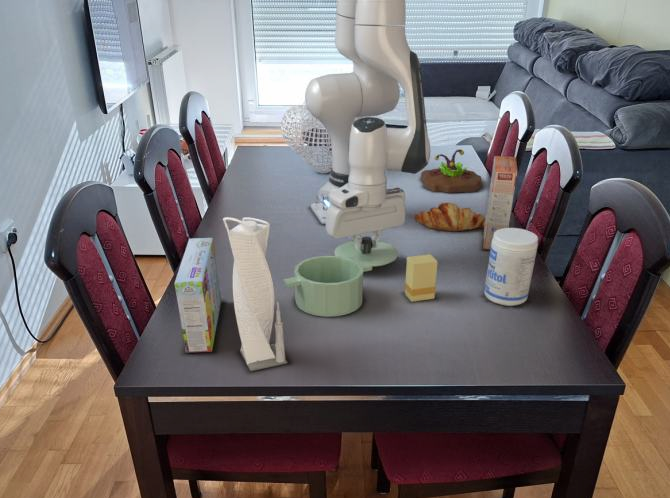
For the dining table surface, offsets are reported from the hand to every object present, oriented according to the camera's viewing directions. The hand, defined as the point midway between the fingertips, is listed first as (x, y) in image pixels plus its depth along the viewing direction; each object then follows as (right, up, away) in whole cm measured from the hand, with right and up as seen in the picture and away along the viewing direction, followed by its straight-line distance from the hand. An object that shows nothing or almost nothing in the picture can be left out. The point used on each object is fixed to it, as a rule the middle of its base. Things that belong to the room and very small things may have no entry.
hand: (366, 248), depth 157 cm
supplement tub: (+31, -13, -12) cm, 36 cm away
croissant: (+24, +9, +24) cm, 36 cm away
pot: (-9, -14, -15) cm, 22 cm away
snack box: (-34, -20, -25) cm, 46 cm away
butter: (+12, -12, -12) cm, 21 cm away
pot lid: (0, -1, +1) cm, 1 cm away
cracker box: (+35, +4, +16) cm, 38 cm away
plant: (+30, +30, +58) cm, 72 cm away
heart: (-13, +36, +67) cm, 77 cm away
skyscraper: (-21, -26, -34) cm, 48 cm away
